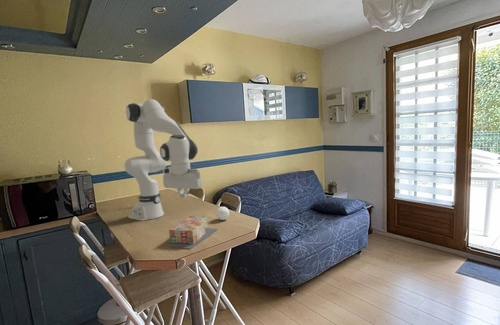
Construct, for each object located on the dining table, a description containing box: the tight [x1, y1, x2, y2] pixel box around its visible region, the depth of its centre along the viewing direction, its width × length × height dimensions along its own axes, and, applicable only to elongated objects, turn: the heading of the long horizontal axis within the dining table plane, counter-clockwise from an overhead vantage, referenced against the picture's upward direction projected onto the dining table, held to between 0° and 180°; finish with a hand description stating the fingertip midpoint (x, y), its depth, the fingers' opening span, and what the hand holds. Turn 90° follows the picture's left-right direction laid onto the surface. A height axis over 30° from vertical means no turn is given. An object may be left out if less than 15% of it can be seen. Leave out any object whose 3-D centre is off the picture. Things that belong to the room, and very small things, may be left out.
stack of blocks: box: [168, 215, 208, 244], centre depth 133 cm, size 21×6×12 cm
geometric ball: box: [215, 206, 230, 221], centre depth 154 cm, size 8×8×8 cm
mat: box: [167, 227, 218, 250], centre depth 130 cm, size 12×24×1 cm, turn 157°
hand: (183, 197), depth 130 cm, fingers closed
